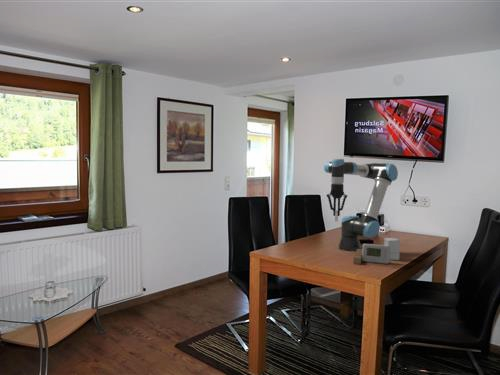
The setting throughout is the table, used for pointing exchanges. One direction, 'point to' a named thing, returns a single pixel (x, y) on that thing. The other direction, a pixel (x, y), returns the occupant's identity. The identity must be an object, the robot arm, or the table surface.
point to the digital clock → (375, 253)
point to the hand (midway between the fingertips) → (336, 221)
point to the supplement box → (393, 248)
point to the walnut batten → (358, 257)
